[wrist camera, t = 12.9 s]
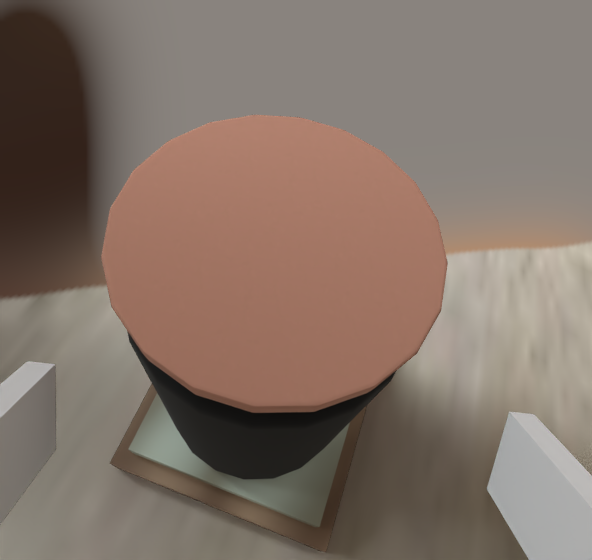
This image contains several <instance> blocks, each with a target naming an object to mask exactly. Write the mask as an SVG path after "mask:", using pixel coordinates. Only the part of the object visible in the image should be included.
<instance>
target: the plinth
mask: <svg viewBox="0 0 592 560" xmlns="http://www.w3.org/2000/svg"><path fill="white" fill-rule="evenodd" d="M366 407H367V405H366V406H365V407H364V408H363V409H362V410H361V411H360V412H359V413H358V414H357V415H356V416H355V418H354V419H353V420H352V421H351V422H350V423H349V424H348V425H347V426H346V427H345V428H344V429H343V430H342V431H341V432H340V433H339V434H338V435H337V436H336V437H335V438H334V439H333V440H332V441H331V442H330V443H329V444H328V445H327V446H326V447H325V448H324V449H323V450H322V451H321V452H319V453H318V454H317V455H316V456H315V457H313V458H312V459H311V460H310V461H309V462H307V463H306V464H305V465H304V466H303V467H301V468H300V469H297V470H294V471H292V472H289V473H287V474H284V475H281V476H279V477H276V478H274V479H241V478H238V477H234V476H231V475H228V474H225V473H222V472H219V471H216V470H214V469H213V468H212V467H210V466H209V465H208V464H206V463H205V462H204V461H202V460H201V459H200V458H199V457H197V456H196V455H195V454H193V453H192V452H191V450H190V448H189V447H188V445H187V444H186V442H185V441H184V439H183V438H182V436H181V435H180V433H179V432H178V430H177V428H176V427H175V425H174V423H173V421H172V419H171V417H170V415H169V414H168V412H167V410H166V408H165V406H164V404H163V403H162V401H161V399H160V397H159V395H158V393H157V391H156V390H155V388H154V386H153V384H151V386H150V388H149V390H148V392H147V394H146V396H145V397H144V399H143V401H142V403H141V405H140V407H139V409H138V411H137V413H136V415H135V416H134V418H133V420H132V422H131V424H130V426H129V428H128V430H127V432H126V433H125V435H124V437H123V439H122V441H121V443H120V445H119V447H118V449H117V451H116V452H115V454H114V456H113V458H112V460H111V462H110V464H112V465H113V466H115V467H117V468H119V469H122V470H124V471H126V472H129V473H131V474H134V475H136V476H139V477H141V478H143V479H146V480H148V481H151V482H153V483H156V484H158V485H161V486H163V487H165V488H168V489H170V490H173V491H175V492H178V493H180V494H182V495H185V496H187V497H190V498H192V499H195V500H197V501H200V502H202V503H204V504H207V505H209V506H212V507H214V508H217V509H219V510H221V511H224V512H226V513H229V514H231V515H234V516H236V517H239V518H241V519H243V520H246V521H248V522H251V523H253V524H256V525H258V526H260V527H263V528H265V529H268V530H270V531H273V532H275V533H278V534H280V535H282V536H285V537H287V538H290V539H292V540H295V541H297V542H300V543H302V544H304V545H307V546H309V547H312V548H314V549H317V550H319V551H323V552H326V551H327V547H328V544H329V540H330V537H331V533H332V529H333V526H334V522H335V519H336V515H337V511H338V508H339V504H340V501H341V497H342V493H343V490H344V486H345V483H346V479H347V475H348V472H349V468H350V465H351V461H352V458H353V454H354V450H355V447H356V443H357V440H358V436H359V432H360V429H361V425H362V422H363V418H364V414H365V411H366Z"/></svg>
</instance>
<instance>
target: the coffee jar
mask: <svg viewBox="0 0 592 560" xmlns="http://www.w3.org/2000/svg"><path fill="white" fill-rule="evenodd" d="M101 259H102V263H103V268H104V273H105V277H106V282H107V287H108V292H109V297H110V301H111V306H112V308H113V310H114V311H115V313H116V314H117V316H118V317H119V319H120V320H121V322H122V323H123V325H124V326H125V328H126V329H127V332H128V336H129V341H130V343H131V345H132V347H133V349H134V351H135V352H136V354H137V356H138V358H139V360H140V362H141V364H142V365H143V367H144V369H145V371H146V373H147V375H148V377H149V378H150V380H151V382H152V384H153V386H154V388H155V390H156V391H157V393H158V395H159V397H160V399H161V401H162V403H163V404H164V406H165V408H166V410H167V412H168V414H169V415H170V417H171V419H172V421H173V423H174V425H175V427H176V428H177V430H178V432H179V433H180V435H181V436H182V438H183V439H184V441H185V442H186V444H187V445H188V447H189V448H190V450H191V452H192V453H193V454H195V455H196V456H197V457H199V458H200V459H201V460H202V461H204V462H205V463H206V464H208V465H209V466H210V467H212V468H213V469H214V470H216V471H219V472H222V473H225V474H228V475H231V476H234V477H238V478H241V479H274V478H276V477H279V476H281V475H284V474H287V473H289V472H292V471H294V470H297V469H300V468H301V467H303V466H304V465H305V464H306V463H307V462H309V461H310V460H311V459H312V458H313V457H315V456H316V455H317V454H318V453H319V452H321V451H322V450H323V449H324V448H325V447H326V446H327V445H328V444H329V443H330V442H331V441H332V440H333V439H334V438H335V437H336V436H337V435H338V434H339V433H340V432H341V431H342V430H343V429H344V428H345V427H346V426H347V425H348V424H349V423H350V422H351V421H352V420H353V419H354V418H355V416H356V415H357V414H358V413H359V412H360V411H361V410H362V409H363V408H364V407H365V406H366V405H367V404H368V403H369V402H370V401H371V400H372V399H373V398H374V397H375V396H376V395H377V394H378V393H379V392H380V391H381V390H382V389H383V388H384V387H385V386H386V385H387V384H388V383H389V382H390V381H391V379H392V378H393V376H394V374H395V372H396V371H397V369H399V368H400V367H401V366H402V365H403V364H405V363H406V362H407V361H408V360H410V359H411V358H412V357H413V356H414V355H416V354H417V352H418V350H419V349H420V347H421V345H422V343H423V342H424V340H425V338H426V336H427V335H428V333H429V331H430V329H431V327H432V326H433V324H434V322H435V320H436V319H437V317H438V315H439V313H440V312H441V307H442V300H443V292H444V285H445V278H446V271H447V259H446V254H445V250H444V245H443V241H442V237H441V232H440V228H439V224H438V220H437V218H436V216H435V215H434V213H433V211H432V210H431V208H430V206H429V205H428V203H427V201H426V200H425V198H424V196H423V194H422V193H421V191H420V189H419V188H418V186H417V184H416V183H415V182H414V181H413V180H412V179H411V178H410V177H409V176H408V175H407V174H406V173H405V172H404V171H403V170H402V169H400V168H399V167H398V166H397V165H396V164H395V163H394V162H393V161H392V160H391V159H390V158H389V157H388V156H387V155H386V154H385V153H383V152H382V151H380V150H379V149H377V148H375V147H373V146H371V145H370V144H368V143H366V142H364V141H362V140H361V139H359V138H357V137H355V136H353V135H352V134H350V133H348V132H346V131H345V130H342V129H338V128H335V127H331V126H328V125H324V124H321V123H317V122H314V121H310V120H307V119H304V118H300V117H299V118H298V117H283V116H266V115H251V116H245V117H240V118H234V119H228V120H222V121H217V122H210V123H208V124H206V125H203V126H201V127H199V128H197V129H194V130H192V131H190V132H188V133H185V134H183V135H181V136H179V137H176V138H174V139H172V140H170V141H168V142H167V143H165V144H164V145H163V146H162V147H161V148H160V149H158V150H157V151H156V152H155V153H154V154H152V155H151V156H150V157H149V158H148V159H146V160H145V161H144V162H143V163H142V164H140V165H139V166H138V167H137V168H136V169H134V171H133V172H132V174H131V175H130V177H129V179H128V181H127V182H126V184H125V185H124V187H123V189H122V190H121V192H120V194H119V195H118V197H117V198H116V200H115V202H114V203H113V205H112V207H111V208H110V212H109V218H108V223H107V229H106V234H105V239H104V245H103V250H102V256H101Z"/></svg>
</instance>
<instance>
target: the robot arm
mask: <svg viewBox="0 0 592 560" xmlns="http://www.w3.org/2000/svg"><path fill="white" fill-rule="evenodd" d="M55 450H56V367H55V364H50V363H40V362H31V361H27V362H26V363H24V364H23V365H22V366H21V367H20V368H19V369H17V370H16V371H15V372H14V373H13V374H12V375H10V376H9V377H8V378H7V379H6V380H5V381H3V382H2V383H1V384H0V524H1V523H2V522H3V520H4V519H5V518H6V516H7V515H8V513H9V512H10V511H11V509H12V508H13V507H14V505H15V504H16V503H17V501H18V500H19V499H20V497H21V496H22V494H23V493H24V492H25V490H26V489H27V488H28V486H29V485H30V484H31V482H32V481H33V480H34V478H35V477H36V476H37V474H38V473H39V471H40V470H41V469H42V467H43V466H44V465H45V463H46V462H47V461H48V459H49V458H50V457H51V455H52V454H53V452H54V451H55ZM487 490H488V492H489V494H490V495H491V497H492V499H493V500H494V502H495V504H496V506H497V507H498V509H499V511H500V512H501V514H502V516H503V517H504V519H505V521H506V522H507V524H508V526H509V527H510V529H511V531H512V532H513V534H514V536H515V537H516V539H517V541H518V542H519V544H520V546H521V547H522V549H523V551H524V552H525V554H526V556H527V557H528V559H529V560H592V476H591V474H590V473H589V472H588V471H587V470H586V469H585V468H584V467H583V466H582V465H581V464H580V463H579V462H578V461H577V460H576V458H575V457H574V456H573V455H572V454H571V453H570V452H569V451H568V450H567V449H566V448H565V447H564V446H563V445H562V444H561V442H560V441H559V440H558V439H557V438H556V437H555V436H554V435H553V434H552V433H551V432H550V431H549V430H548V429H547V428H546V426H545V425H544V424H543V423H542V422H541V421H540V420H539V419H538V418H537V417H536V416H535V415H534V414H528V413H518V412H509V414H508V418H507V421H506V424H505V428H504V431H503V435H502V438H501V442H500V445H499V449H498V452H497V455H496V459H495V462H494V466H493V469H492V473H491V476H490V480H489V483H488V486H487Z"/></svg>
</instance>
